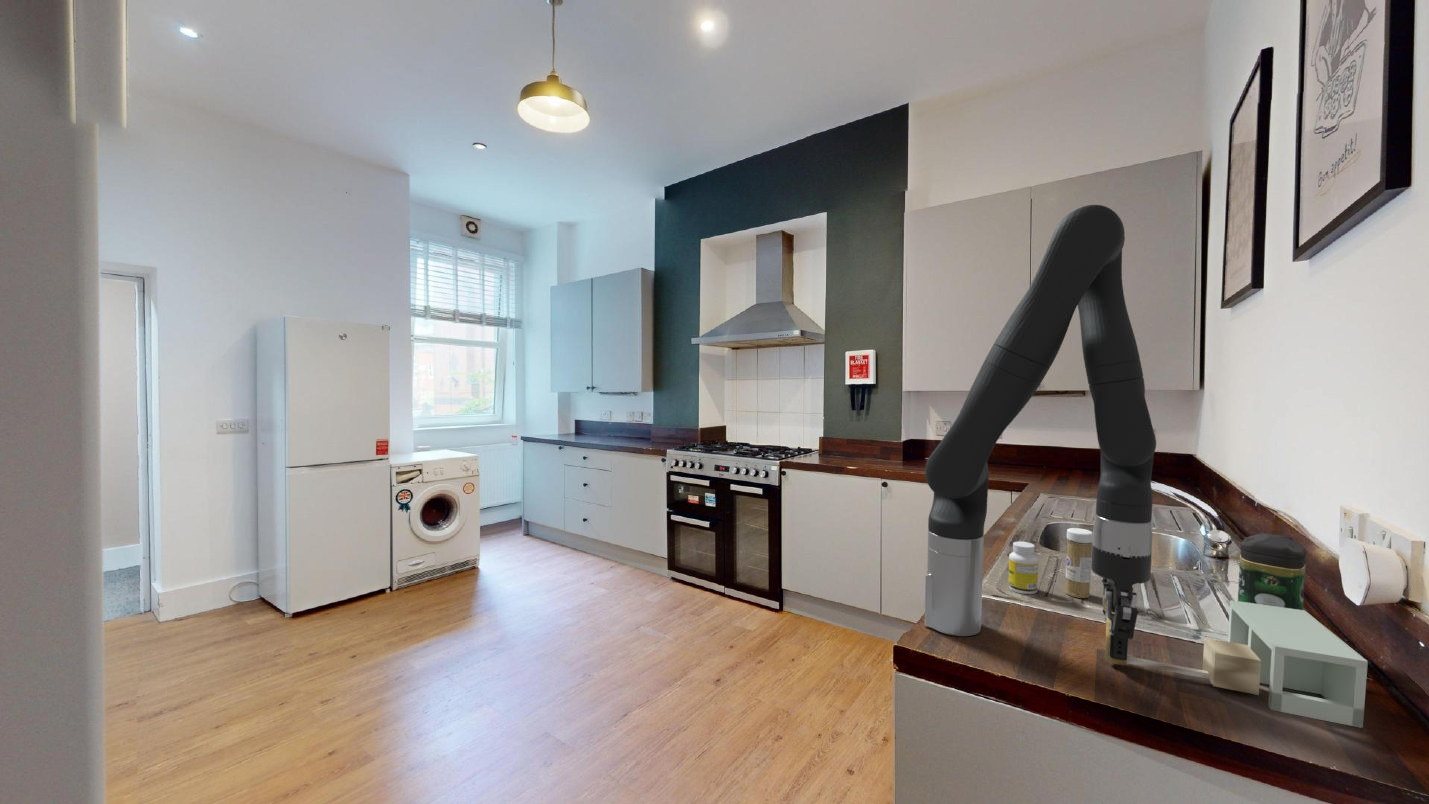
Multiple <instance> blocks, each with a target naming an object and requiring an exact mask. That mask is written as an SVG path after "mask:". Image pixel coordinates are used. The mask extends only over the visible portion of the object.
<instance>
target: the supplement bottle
mask: <svg viewBox="0 0 1429 804" xmlns="http://www.w3.org/2000/svg"><path fill="white" fill-rule="evenodd" d="M1035 547H1036V546H1035V545H1034V543H1031V542H1028V541H1027V542H1026V541H1014V542H1013V543H1012V552H1011V553H1010V554H1009V556H1008V588H1009V589H1010V590H1011V591H1013V592H1015V593H1018V594H1022V595H1034V594H1036V593H1037V592H1038V583H1039V582H1038V581H1039V580H1038V579H1039V577H1038V576H1039V559H1038V558H1039V557H1038V556H1037V555H1036V554H1034V553H1035V552H1036V549H1035Z"/></svg>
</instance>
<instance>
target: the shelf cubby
mask: <svg viewBox="0 0 1429 804" xmlns="http://www.w3.org/2000/svg"><path fill="white" fill-rule="evenodd" d="M1228 610H1229V613H1228V630H1227V632H1228V633H1227V642H1232V643H1238V644H1244V645H1248V646H1249V647H1250V649H1251V650H1252V651H1253V652H1254V653H1255V654H1256V655H1257V657H1258V658H1259V659H1260V660H1261V672H1260V684H1262V685H1263V684H1264V685H1268V687H1269V688H1268V689H1269V690H1268V700H1267V701H1268V704H1267V705H1268V708H1269V709H1270V710H1271V711H1274V712H1280V713H1284V714H1285V713H1286V714H1290V715H1296V716H1299V717H1300V716H1301V717H1304V718H1311V719H1315V720H1321V721H1326V722H1330V723H1336V724H1341V725H1344V726H1345V725H1346V726H1351V727H1354V728H1355V727H1356V728H1360V729H1363V728H1364V715H1365V700H1366V692H1367V690H1366V689H1367V674H1368V665H1369V664H1368V663H1369V662H1368V661H1369V660H1367V659H1366V658H1364V657H1363V656H1362V655H1360V653H1358V652H1357V651H1356V650H1354V649H1353V648H1352V647H1350V646H1349V645H1348V644H1347V643H1346V642H1345V641H1343V640H1342V639H1341V638H1339V637H1338V635H1336V634H1334V633H1333V632H1332V631H1331V630H1330V629H1328V628H1327V627H1326V626H1325V625H1323V624H1322V623H1321V622H1319V621H1318V620H1317V619H1316V618H1315V617H1314V616H1312V615H1311V614H1310V613H1308V612H1307V611H1306V610H1305V609H1303V610H1298V609H1290V608H1283V607H1276V606H1269V605H1262V604H1254V603H1247V602H1240V601H1238V600H1229V609H1228ZM1284 688H1285V689H1290V690H1296V691H1301V692H1306V693H1307V692H1308V693H1313V694H1317V695H1321V696H1322V697H1323V698H1320V697H1316V696H1310V695H1305V694H1300V693H1295V692H1288V691H1283V689H1284Z"/></svg>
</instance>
